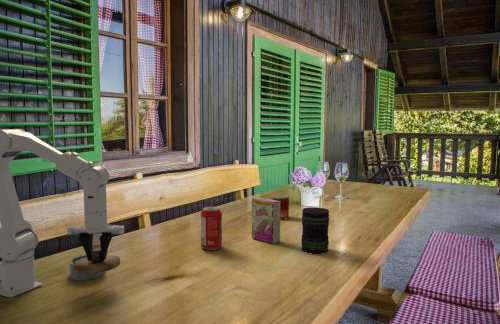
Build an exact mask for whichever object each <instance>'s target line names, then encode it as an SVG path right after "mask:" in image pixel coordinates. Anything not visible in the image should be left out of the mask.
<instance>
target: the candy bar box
mask: <svg viewBox="0 0 500 324" xmlns="http://www.w3.org/2000/svg"><path fill="white" fill-rule="evenodd" d="M280 207H281V201H276V200H273V199H269V198H264V197H255V198H251V239H252V238H253V240H257V241H259V240H260V241H259V242H263V241H264V242H263V243H266V242H268V243H267V244H270V243H271V244H270V245H275V244H277V242H278V243H280V242H281V220H280ZM274 243H275V244H274Z"/></svg>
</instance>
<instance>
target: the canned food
mask: <svg viewBox="0 0 500 324" xmlns="http://www.w3.org/2000/svg"><path fill="white" fill-rule="evenodd" d="M272 200H276V201H281V207H280V219H285V218H288V219H289V217H290V196H289V195H286V194H275V195H273V196H272ZM285 220H286V219H285Z"/></svg>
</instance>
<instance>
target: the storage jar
mask: <svg viewBox="0 0 500 324" xmlns="http://www.w3.org/2000/svg"><path fill="white" fill-rule="evenodd" d="M301 210H302V213H301V215H302V216H301V225H302V234H301V239H300V240H301V242H300V243H301V251H302V252H303V251H304V252H303V253H305V252H307V253H306V254H308V253H312V254H311V255H314V254H321V255H323V254H322V253H326V252H327V253H329V243H330V242H329V240H330V239H329V225H330V210H329V209H328V208H324V207H313V206H311V207H304V208H302V209H301ZM327 253H326V254H327Z"/></svg>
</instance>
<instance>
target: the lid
mask: <svg viewBox="0 0 500 324" xmlns="http://www.w3.org/2000/svg"><path fill="white" fill-rule="evenodd" d="M119 265H121V258H120V256H117V255H115V254H107V255H106V259H105V260H104V261H101V249H93V250H91V261H88V260H87V257H85V258H82V259H80V260H77V261H76V262H75V263H74V264H73V269H74V271H76V272H78V273H86V274H90V273H100V272H105V271H106V272H107V271H110V270H114V269H116V268H118V267H119ZM106 272H105V273H106Z"/></svg>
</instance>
